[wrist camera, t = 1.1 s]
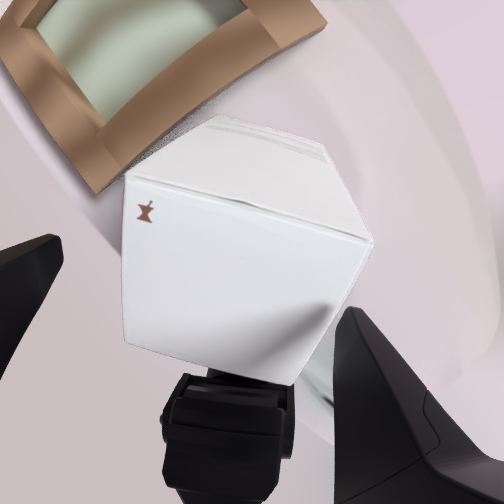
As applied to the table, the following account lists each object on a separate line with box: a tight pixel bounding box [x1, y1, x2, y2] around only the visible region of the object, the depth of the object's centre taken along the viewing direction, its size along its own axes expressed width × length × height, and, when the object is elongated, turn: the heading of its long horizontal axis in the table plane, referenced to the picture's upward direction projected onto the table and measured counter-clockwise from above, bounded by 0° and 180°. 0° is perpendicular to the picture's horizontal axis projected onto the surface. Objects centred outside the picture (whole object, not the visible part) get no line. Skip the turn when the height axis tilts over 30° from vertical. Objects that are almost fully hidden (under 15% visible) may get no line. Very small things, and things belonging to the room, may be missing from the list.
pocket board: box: [0, 0, 328, 195], centre depth 14 cm, size 18×18×2 cm
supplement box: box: [121, 115, 375, 386], centre depth 15 cm, size 7×7×13 cm
